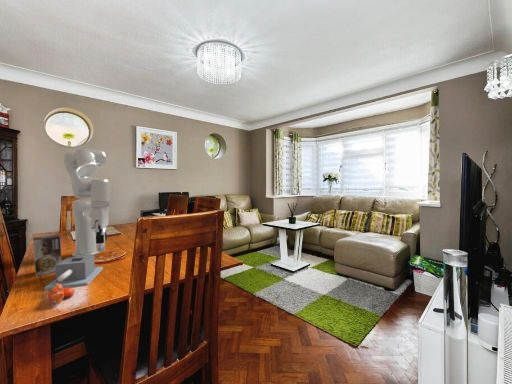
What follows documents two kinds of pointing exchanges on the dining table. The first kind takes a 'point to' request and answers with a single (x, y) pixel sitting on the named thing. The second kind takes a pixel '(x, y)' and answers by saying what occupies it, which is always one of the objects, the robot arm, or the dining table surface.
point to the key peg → (102, 245)
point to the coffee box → (46, 253)
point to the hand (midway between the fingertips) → (101, 241)
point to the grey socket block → (75, 272)
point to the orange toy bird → (59, 293)
